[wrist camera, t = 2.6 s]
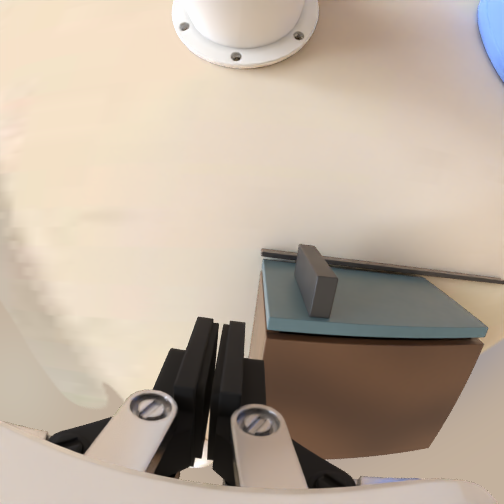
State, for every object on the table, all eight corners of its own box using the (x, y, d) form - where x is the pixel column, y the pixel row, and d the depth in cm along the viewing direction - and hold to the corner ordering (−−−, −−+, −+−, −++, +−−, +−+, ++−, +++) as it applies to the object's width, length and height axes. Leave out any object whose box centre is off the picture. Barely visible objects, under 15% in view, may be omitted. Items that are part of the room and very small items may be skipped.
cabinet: (261, 248, 27) (267, 306, 16) (500, 278, 28) (566, 318, 17) (244, 368, 30) (241, 457, 19) (465, 370, 31) (512, 425, 20)
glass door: (266, 230, 26) (275, 273, 16) (429, 253, 27) (500, 295, 16) (261, 267, 27) (266, 330, 17) (421, 285, 27) (484, 337, 17)
